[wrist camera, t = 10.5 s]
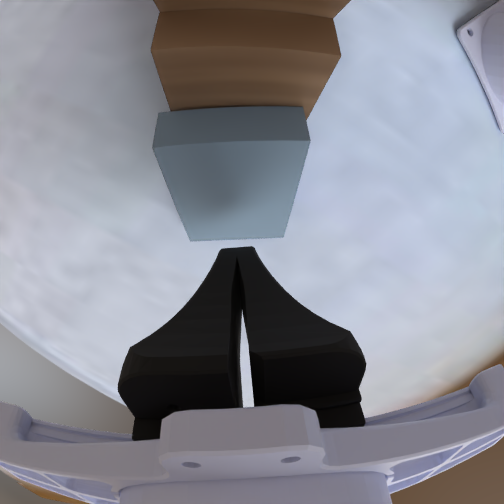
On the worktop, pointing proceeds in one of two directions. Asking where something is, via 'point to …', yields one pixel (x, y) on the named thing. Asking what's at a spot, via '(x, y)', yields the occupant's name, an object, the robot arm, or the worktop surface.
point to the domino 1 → (259, 5)
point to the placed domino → (232, 168)
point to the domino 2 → (243, 58)
